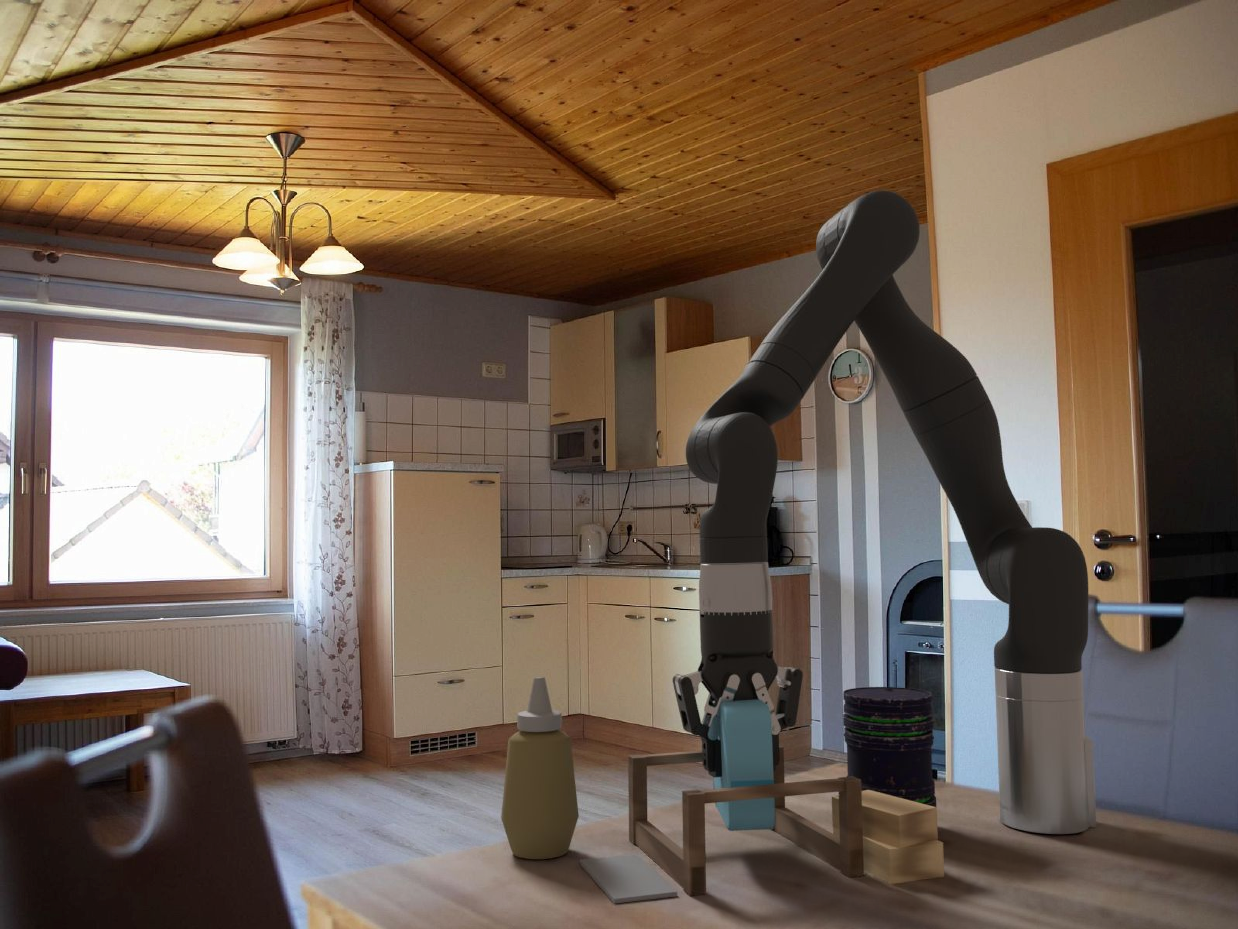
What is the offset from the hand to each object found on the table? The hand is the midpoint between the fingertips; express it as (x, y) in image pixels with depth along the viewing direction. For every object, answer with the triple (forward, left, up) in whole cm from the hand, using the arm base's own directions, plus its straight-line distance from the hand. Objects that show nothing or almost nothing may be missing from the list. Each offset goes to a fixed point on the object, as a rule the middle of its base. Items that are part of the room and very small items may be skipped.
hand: (741, 772), depth 106 cm
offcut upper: (-12, +7, -5) cm, 15 cm away
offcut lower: (-13, +7, -9) cm, 17 cm away
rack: (0, 0, -8) cm, 8 cm away
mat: (+13, +3, -8) cm, 16 cm away
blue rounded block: (0, 0, -5) cm, 5 cm away
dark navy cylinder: (-20, -4, -9) cm, 22 cm away
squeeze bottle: (+19, -8, -9) cm, 23 cm away
